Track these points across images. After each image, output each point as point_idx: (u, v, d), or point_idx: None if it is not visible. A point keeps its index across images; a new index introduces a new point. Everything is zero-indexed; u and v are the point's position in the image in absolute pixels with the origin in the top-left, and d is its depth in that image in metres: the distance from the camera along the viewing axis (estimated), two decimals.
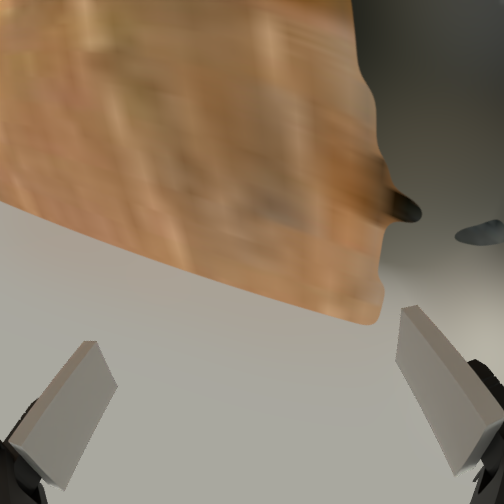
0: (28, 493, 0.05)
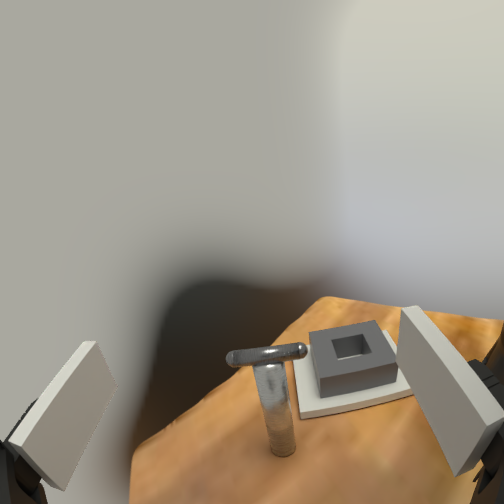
0: (28, 493, 0.05)
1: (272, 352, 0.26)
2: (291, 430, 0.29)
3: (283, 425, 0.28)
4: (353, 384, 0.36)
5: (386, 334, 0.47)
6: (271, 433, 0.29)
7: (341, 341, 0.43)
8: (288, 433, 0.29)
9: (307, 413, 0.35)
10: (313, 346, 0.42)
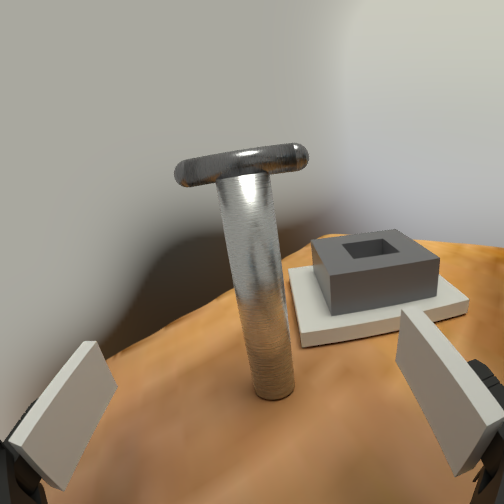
0: (28, 493, 0.05)
1: (248, 152, 0.16)
2: (286, 341, 0.19)
3: (271, 321, 0.18)
4: (378, 292, 0.25)
5: None
6: (251, 343, 0.19)
7: (355, 247, 0.33)
8: (281, 345, 0.18)
9: (312, 335, 0.25)
10: (317, 249, 0.32)
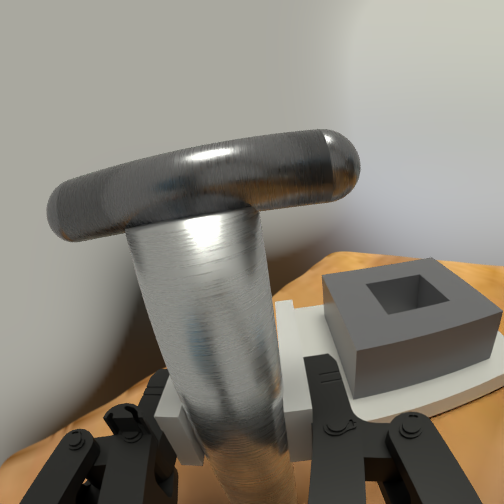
0: (158, 481, 0.07)
1: (200, 153, 0.06)
2: (289, 488, 0.09)
3: (263, 481, 0.08)
4: (422, 364, 0.16)
5: None
6: (229, 494, 0.09)
7: (383, 287, 0.23)
8: (280, 496, 0.09)
9: None
10: (333, 294, 0.22)
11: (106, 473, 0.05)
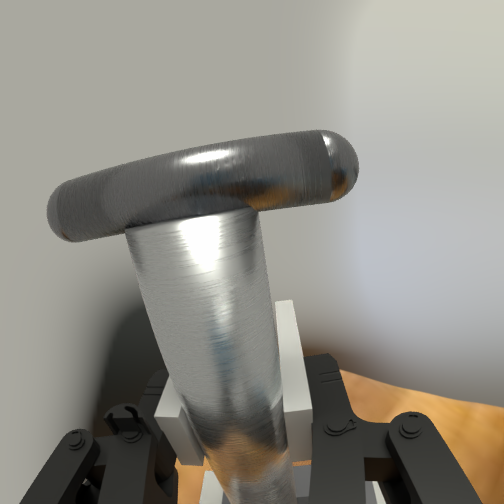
0: (158, 481, 0.07)
1: (199, 154, 0.06)
2: (288, 487, 0.09)
3: (262, 480, 0.08)
4: None
5: None
6: (229, 494, 0.09)
7: None
8: (279, 496, 0.09)
9: None
10: None
11: (106, 474, 0.05)
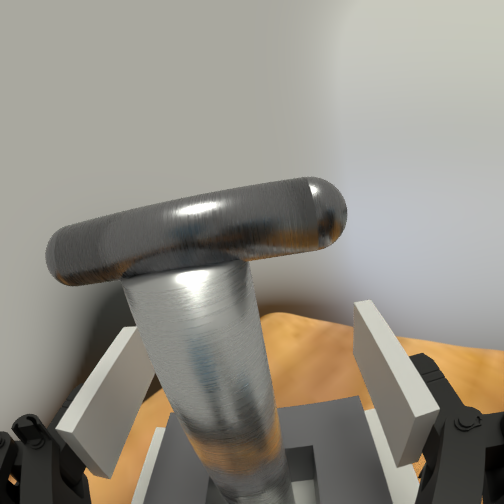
0: (70, 485, 0.06)
1: (187, 209, 0.06)
2: (286, 498, 0.09)
3: (260, 493, 0.08)
4: None
5: None
6: None
7: None
8: None
9: None
10: (158, 463, 0.12)
11: (23, 478, 0.05)
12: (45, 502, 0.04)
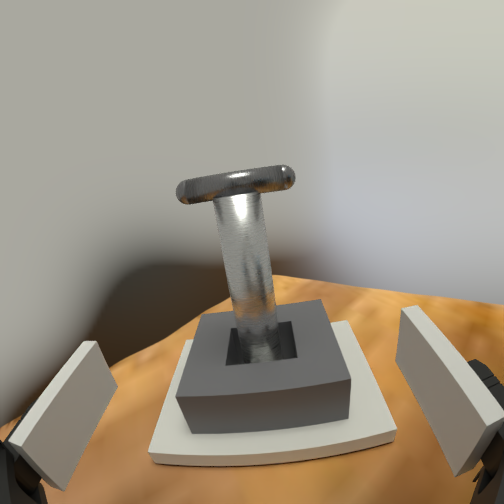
0: (28, 493, 0.05)
1: (241, 173, 0.18)
2: (276, 339, 0.21)
3: (262, 322, 0.20)
4: (251, 417, 0.18)
5: (346, 327, 0.29)
6: (245, 342, 0.21)
7: None
8: (272, 343, 0.21)
9: (161, 456, 0.17)
10: (196, 337, 0.24)
11: None
12: None
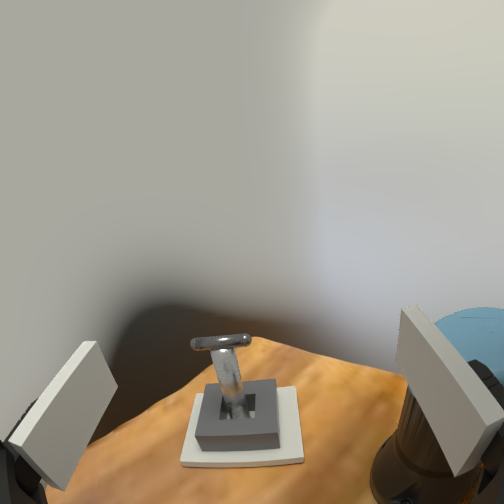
0: (28, 493, 0.05)
1: (223, 340, 0.35)
2: (245, 407, 0.38)
3: (236, 401, 0.37)
4: (231, 445, 0.35)
5: (293, 391, 0.46)
6: (228, 408, 0.38)
7: None
8: (242, 409, 0.38)
9: (187, 462, 0.34)
10: (203, 400, 0.41)
11: None
12: None
